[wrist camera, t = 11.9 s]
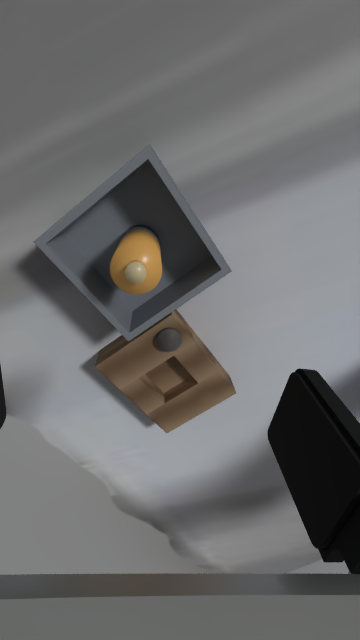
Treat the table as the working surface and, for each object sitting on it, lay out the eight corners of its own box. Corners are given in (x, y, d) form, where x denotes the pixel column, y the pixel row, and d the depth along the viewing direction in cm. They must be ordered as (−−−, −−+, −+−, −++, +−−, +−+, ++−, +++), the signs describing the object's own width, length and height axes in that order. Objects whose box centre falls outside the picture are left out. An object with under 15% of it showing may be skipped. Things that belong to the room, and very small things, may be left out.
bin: (218, 254, 33) (231, 271, 27) (132, 315, 35) (128, 341, 30) (150, 149, 27) (149, 144, 22) (54, 229, 30) (33, 241, 25)
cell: (167, 248, 31) (173, 278, 22) (137, 270, 32) (131, 308, 23) (143, 216, 29) (139, 235, 21) (113, 240, 30) (96, 268, 21)
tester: (229, 376, 40) (237, 396, 37) (165, 414, 43) (166, 436, 39) (170, 301, 35) (172, 317, 31) (99, 350, 37) (94, 369, 33)
